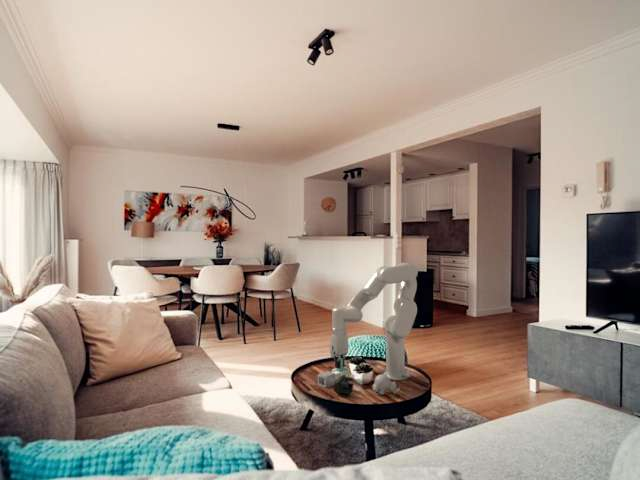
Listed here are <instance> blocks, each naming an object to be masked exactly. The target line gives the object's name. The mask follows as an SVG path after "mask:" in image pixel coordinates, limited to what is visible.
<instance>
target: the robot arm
mask: <svg viewBox="0 0 640 480" xmlns="http://www.w3.org/2000/svg"><path fill="white" fill-rule="evenodd" d="M418 273H419V271H418V268H417V266H416V265H415V264H413V263H410V262H409V263H408V262H400V263H398V264H397V265H395V266H382V265H381V266H379V267H378V268H377V269H376V271H374V273H373V274H372V275H371V277H370V278H369V280H367V282H366V284H365V285H364V287H362V289H360V290H359V291H358V293H356V294H355V295H354V296H353V297H352V299H351V300H350V302H349V303H348V304H347V305H346V306H345V307H343V306H341V307H340V306H338V307H333V308H332V310H331V315H332V316H331V323H332V325H331V326H332V328H331V331H332V333H331V335H330V341H329V354H330V358H333V360H334V369H335V368H338V369H340V368H341V365H340V361H339V360H340V358H343V367H344V366H345V360H346V356H347V354H349V337H348V329H347V328H348V327H347V326H348V323H359V322H361V321H362V320H363V312H362V309H363V308H364V306H366V305H367V304H368V303H369V302H371V301H373V300H375V299H377V298H378V296H379V295H380V294H381V292H383V290H384V289H385V287H386V286H387V285H392V284H399V283H400V284H399V290H398V292H397V294H396V297H395V300H394V302H393V310H394V312H395V313H396V314H395V315H390V316H388V317H387V318H386V320H385V322H384V330H385V358H386V359H385V360H386V361H385V364H386V366H385V367H386V368H385V371H384V372H383V373H382V374H384V375H386V376H388V378H389V379H390V381H391V380H392V381H404V380H407V379H408V378H411V376H412V375H411V374H412V372H410V371H407V368H406V367H405V354H406V353H405V348H406V347H405V345H406V344H405V338H406V337H407V336H408V335H409V334H410V333H411V330H412V328H413V325H414V322H415V320H416V316H417V314H418V307H417V304H416V302H415V301H414V299H415V295H416V292H417V289H418V288H417V286H418V283H417V277H418Z"/></svg>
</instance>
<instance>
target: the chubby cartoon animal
mask: <svg viewBox="0 0 640 480" xmlns="http://www.w3.org/2000/svg"><path fill="white" fill-rule="evenodd" d="M396 381H397V380H393V381H391V379H389V378H388V376H386V375H384V374H383V373H381V374H380V373H379V374H378V375H376V376H375V379H374V383H373V384H372V391H373V392H375V393H378V394H379V395H381V396H383V395H385V392H386V391H387V390H388V391H389V392H391V393H392V394H395V395H396V394H397V393H399V392H400V388H398V387H397V384H396Z"/></svg>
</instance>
